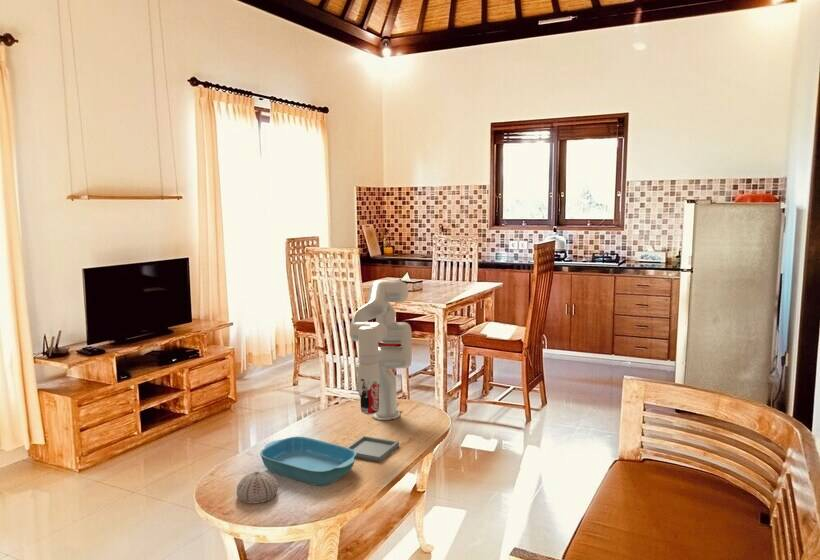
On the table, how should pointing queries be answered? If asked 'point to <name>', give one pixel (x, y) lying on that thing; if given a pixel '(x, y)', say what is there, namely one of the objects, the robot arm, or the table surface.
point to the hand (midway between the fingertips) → (369, 404)
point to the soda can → (372, 400)
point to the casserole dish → (308, 460)
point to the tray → (373, 448)
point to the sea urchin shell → (257, 487)
